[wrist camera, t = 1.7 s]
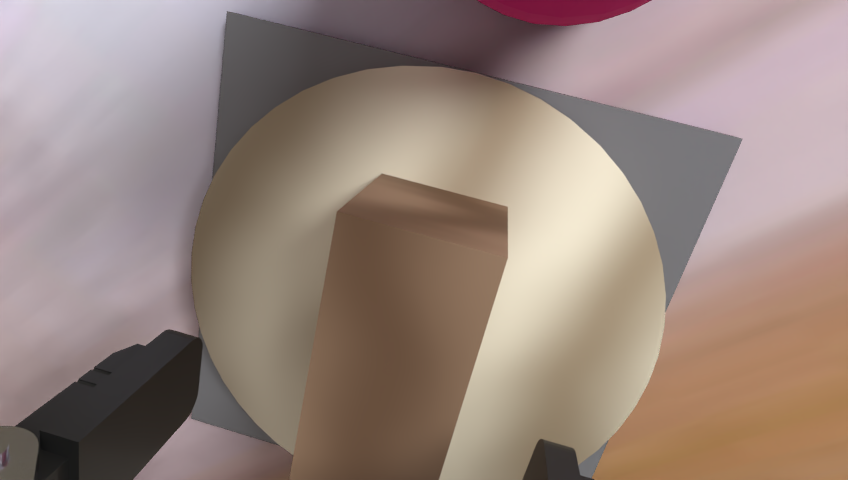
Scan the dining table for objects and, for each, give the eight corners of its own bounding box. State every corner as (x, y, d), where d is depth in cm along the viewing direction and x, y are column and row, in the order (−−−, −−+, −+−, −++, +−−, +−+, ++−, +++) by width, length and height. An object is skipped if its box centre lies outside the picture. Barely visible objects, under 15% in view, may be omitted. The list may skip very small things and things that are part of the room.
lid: (742, 138, 15) (864, 176, 10) (566, 532, 20) (586, 689, 15) (228, 11, 16) (95, -16, 11) (191, 417, 22) (92, 527, 16)
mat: (735, 136, 15) (742, 139, 15) (565, 523, 21) (566, 533, 20) (234, 12, 16) (226, 11, 16) (198, 411, 22) (191, 418, 22)
